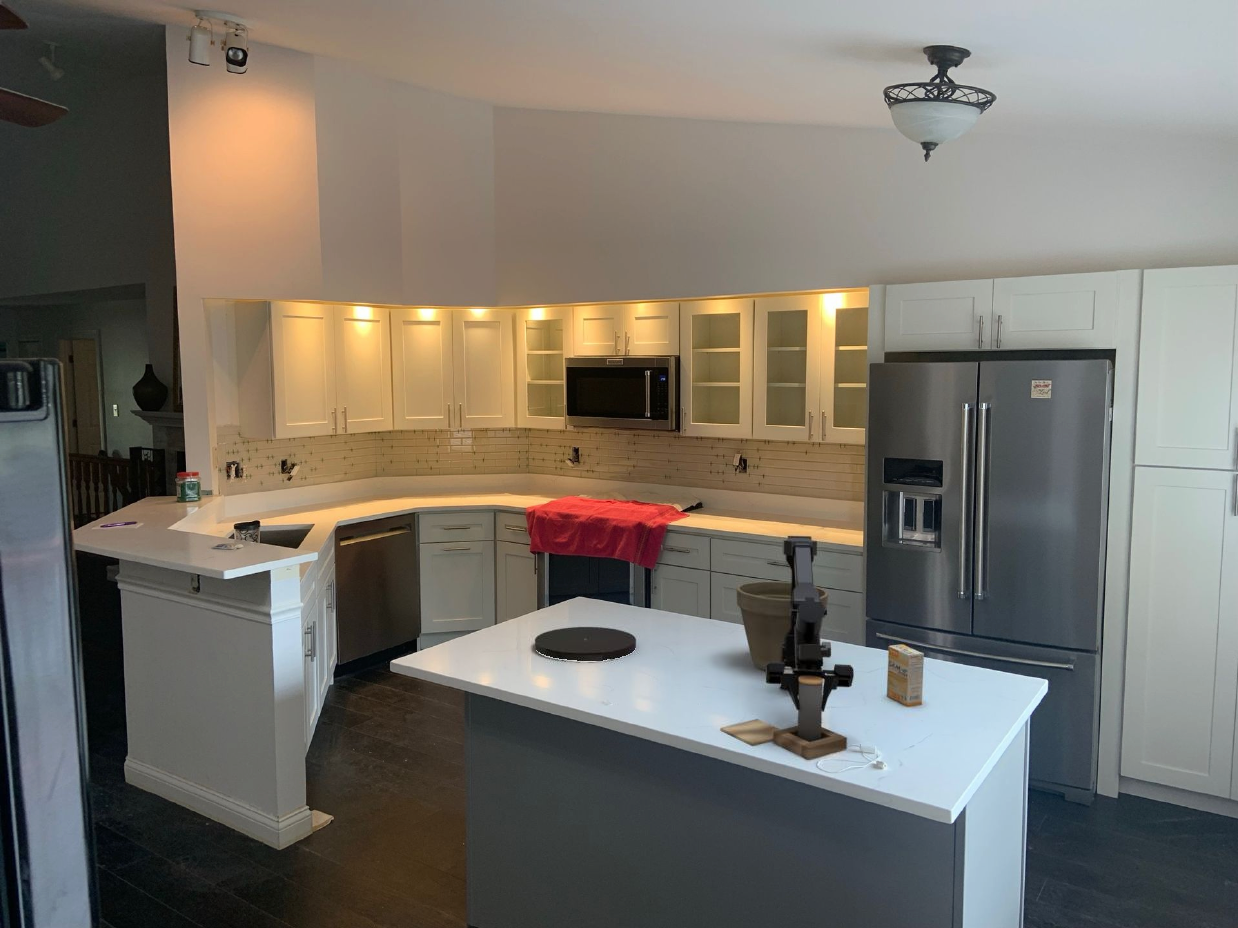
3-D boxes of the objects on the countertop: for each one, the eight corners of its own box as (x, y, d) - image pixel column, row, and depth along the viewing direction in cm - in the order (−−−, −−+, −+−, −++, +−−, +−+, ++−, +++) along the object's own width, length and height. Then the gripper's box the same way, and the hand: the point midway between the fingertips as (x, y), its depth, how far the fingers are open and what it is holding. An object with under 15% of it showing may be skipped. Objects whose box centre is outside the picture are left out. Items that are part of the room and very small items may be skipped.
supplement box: (885, 696, 234) (887, 645, 233) (901, 694, 236) (903, 643, 235) (906, 707, 226) (908, 654, 225) (922, 704, 228) (924, 652, 227)
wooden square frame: (773, 742, 203) (773, 731, 203) (809, 732, 209) (810, 721, 208) (809, 759, 194) (809, 747, 193) (846, 748, 200) (846, 737, 199)
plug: (791, 741, 202) (793, 677, 202) (809, 737, 205) (810, 674, 205) (808, 747, 198) (810, 682, 198) (826, 743, 201) (828, 679, 200)
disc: (521, 641, 283) (521, 631, 283) (610, 631, 296) (610, 622, 296) (556, 668, 256) (556, 657, 256) (653, 656, 269) (653, 646, 269)
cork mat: (720, 729, 210) (720, 727, 210) (757, 720, 216) (757, 718, 216) (752, 745, 201) (752, 743, 201) (790, 735, 207) (790, 733, 207)
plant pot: (821, 654, 270) (822, 581, 269) (831, 681, 246) (833, 600, 244) (734, 651, 273) (735, 578, 271) (736, 677, 248) (737, 597, 247)
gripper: (767, 625, 205) (768, 690, 195) (853, 629, 203) (859, 695, 193) (765, 650, 214) (766, 714, 204) (848, 653, 211) (853, 718, 201)
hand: (810, 710), depth 200 cm, fingers closed on plug, 5 cm apart
